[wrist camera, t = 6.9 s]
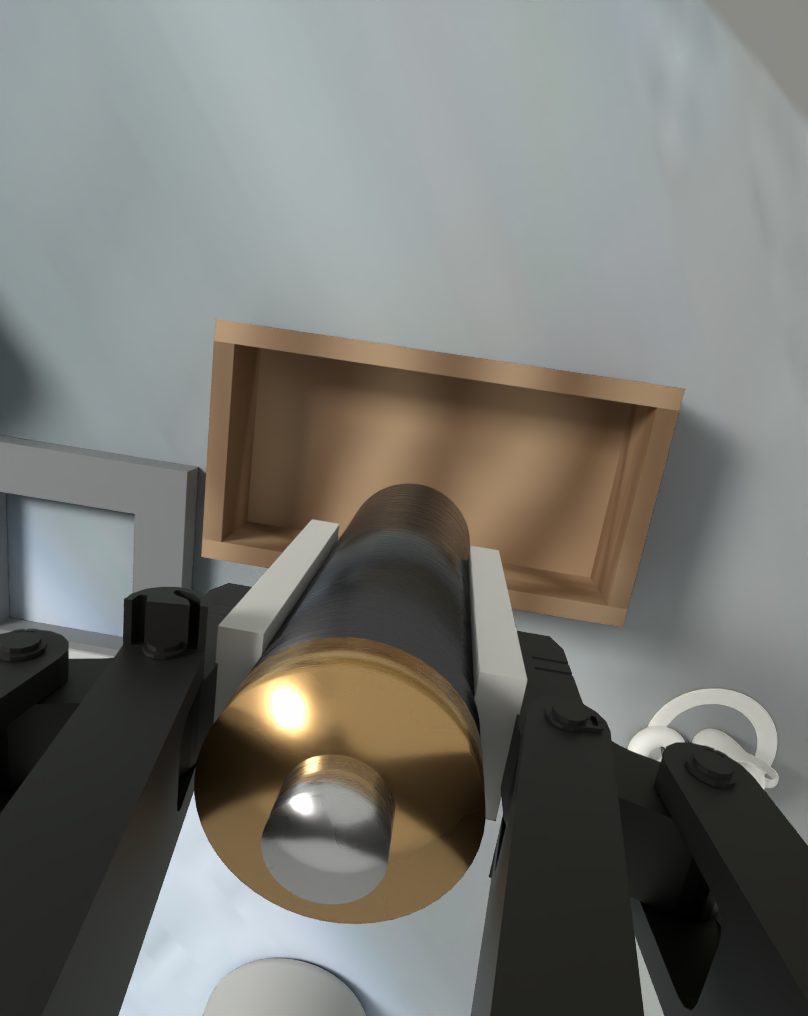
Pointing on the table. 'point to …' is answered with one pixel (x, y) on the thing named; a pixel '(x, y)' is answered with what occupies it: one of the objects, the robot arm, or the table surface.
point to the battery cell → (358, 728)
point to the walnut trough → (438, 456)
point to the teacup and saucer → (714, 732)
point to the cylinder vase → (282, 991)
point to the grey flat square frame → (114, 486)
